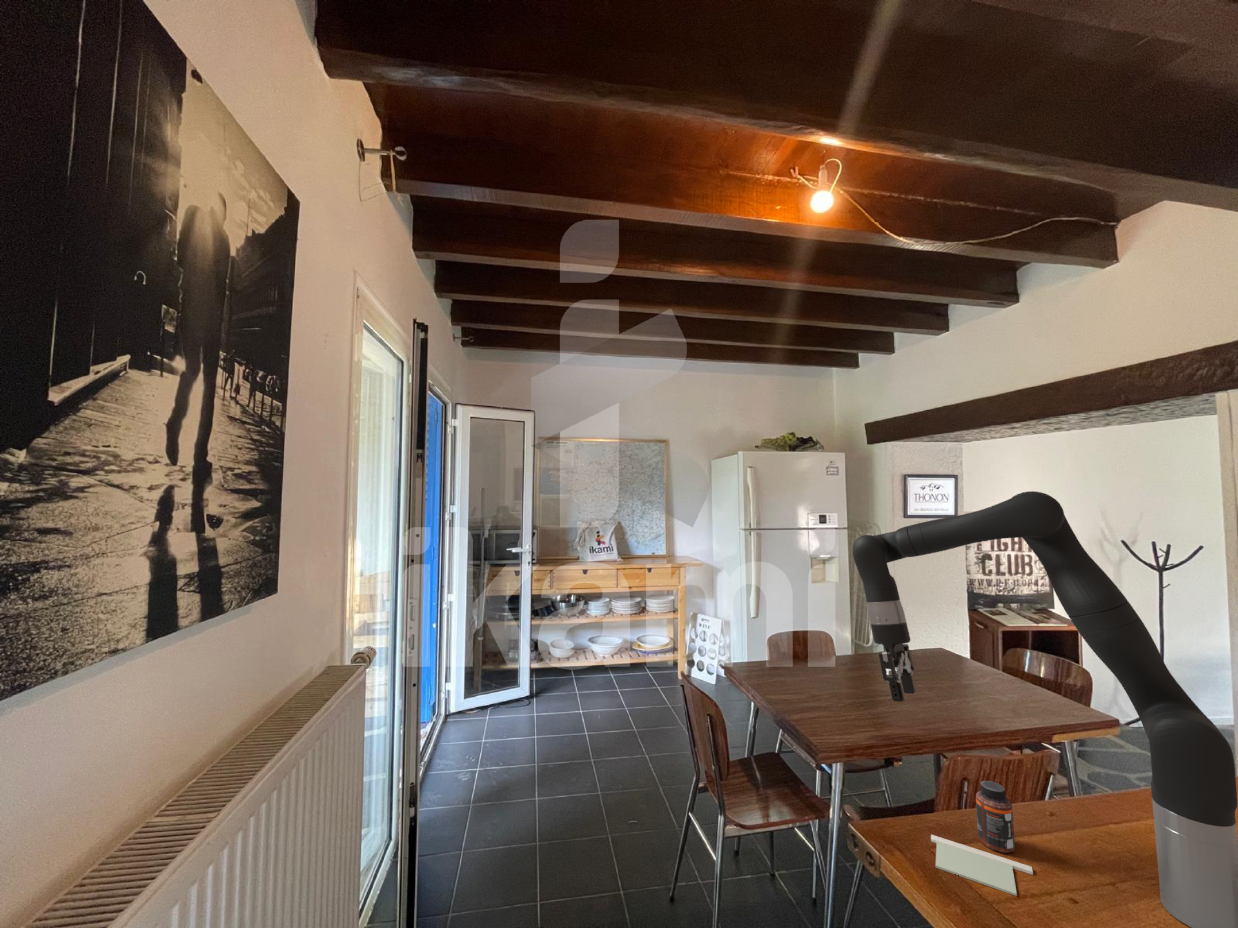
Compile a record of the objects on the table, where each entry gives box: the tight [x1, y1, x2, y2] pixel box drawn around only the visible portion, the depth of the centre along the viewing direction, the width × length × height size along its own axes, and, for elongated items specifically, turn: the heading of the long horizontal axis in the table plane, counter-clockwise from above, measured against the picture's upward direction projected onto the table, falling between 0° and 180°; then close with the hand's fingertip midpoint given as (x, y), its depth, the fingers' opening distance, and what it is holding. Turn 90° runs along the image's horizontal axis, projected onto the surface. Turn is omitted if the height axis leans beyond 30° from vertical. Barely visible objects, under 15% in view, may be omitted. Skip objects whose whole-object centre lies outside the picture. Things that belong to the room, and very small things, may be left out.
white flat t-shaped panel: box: [930, 834, 1034, 897], centre depth 92 cm, size 16×10×1 cm, turn 56°
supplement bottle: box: [975, 780, 1016, 854], centre depth 99 cm, size 6×6×11 cm
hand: (904, 696), depth 108 cm, fingers open, 8 cm apart
